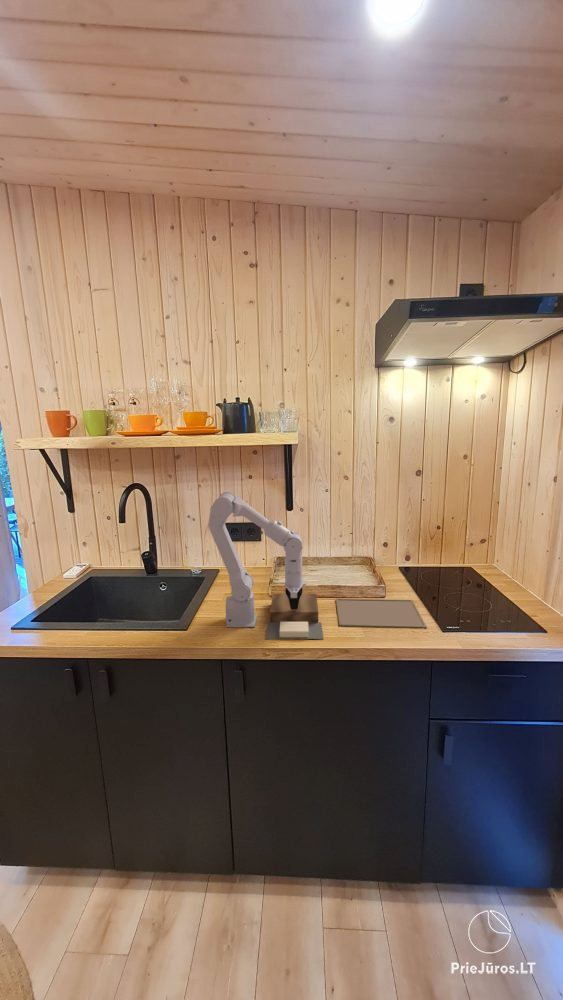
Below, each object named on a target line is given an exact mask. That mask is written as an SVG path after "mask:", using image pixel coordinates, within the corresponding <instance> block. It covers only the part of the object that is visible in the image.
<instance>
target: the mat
mask: <svg viewBox="0 0 563 1000" xmlns="http://www.w3.org/2000/svg"><path fill="white" fill-rule="evenodd" d="M266 623H267V624H266V630H265V639H264V640H295V639H315V641H316V639H319V640H322V641H323V640H324V633H323V625H322V624H323V623H322V622H320V621H318V622H308V630H309V637H280V622H270V621H269V622H266Z"/></svg>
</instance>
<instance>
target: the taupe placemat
mask: <svg viewBox="0 0 563 1000" xmlns="http://www.w3.org/2000/svg"><path fill="white" fill-rule="evenodd" d="M335 606H336V612H337V618H338V619H337V620H338V627H342V628H343V627H346V628H348V627H349V628H351V627H352V628H391V629H392V628H395V629H397V628H398V629H399V628H400V629H401V628H402V629H427V628H428V626H427V624H426V623H425V621H424V618H422V615H421V613H420V611H419V610H418V608H417V606H416V604H415V602H414V600H413V599H391V598H390V599H389V598H388V599H386V598H383V599H382V598H380V599H379V598H378V599H377V598H335Z"/></svg>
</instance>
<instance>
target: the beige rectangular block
mask: <svg viewBox="0 0 563 1000" xmlns="http://www.w3.org/2000/svg"><path fill="white" fill-rule="evenodd" d="M280 637H309V630H308V622H280Z"/></svg>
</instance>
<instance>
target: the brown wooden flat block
mask: <svg viewBox="0 0 563 1000" xmlns="http://www.w3.org/2000/svg"><path fill="white" fill-rule="evenodd" d="M271 596H272V597H271V603H270V610H269V614H270V615H269V616H270V617H269V619H270V621H269V622H319V605H318V596H317V593H302V595H301V596H300V599H299V604H298V609H297V610H291V607H290V603H289V599H288V597H287V595H286V593H272V595H271Z"/></svg>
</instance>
